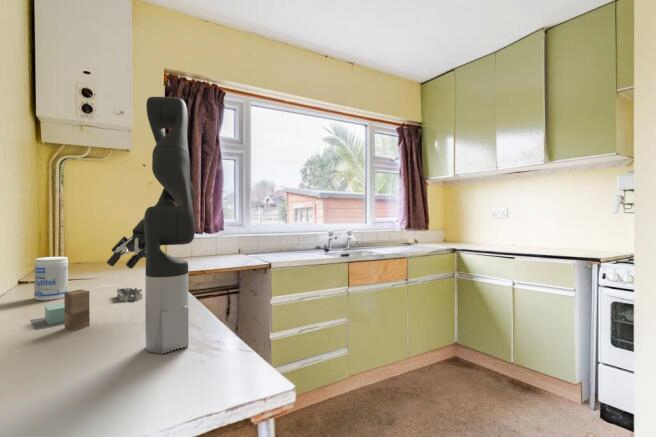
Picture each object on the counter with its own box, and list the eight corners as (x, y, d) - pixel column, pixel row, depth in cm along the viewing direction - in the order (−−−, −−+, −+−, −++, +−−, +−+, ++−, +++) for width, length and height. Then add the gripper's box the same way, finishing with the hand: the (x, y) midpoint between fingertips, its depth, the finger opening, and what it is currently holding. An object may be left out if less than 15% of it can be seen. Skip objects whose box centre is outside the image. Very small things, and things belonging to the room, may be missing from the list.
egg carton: (142, 300, 122) (142, 289, 122) (118, 304, 118) (118, 292, 118) (139, 294, 131) (139, 284, 131) (116, 297, 127) (116, 286, 126)
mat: (90, 320, 99) (90, 319, 99) (36, 331, 90) (36, 329, 90) (80, 312, 107) (80, 311, 107) (30, 321, 98) (30, 319, 98)
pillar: (89, 327, 94) (89, 290, 93) (73, 331, 90) (73, 294, 90) (80, 325, 95) (80, 289, 95) (64, 329, 91) (64, 292, 91)
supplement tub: (30, 302, 118) (30, 260, 118) (38, 296, 126) (38, 257, 126) (65, 299, 123) (65, 258, 122) (70, 293, 131) (70, 255, 131)
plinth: (75, 319, 99) (75, 306, 99) (48, 324, 94) (48, 310, 94) (70, 315, 103) (70, 302, 103) (45, 319, 98) (45, 306, 98)
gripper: (129, 218, 114) (94, 256, 103) (160, 219, 108) (126, 260, 98) (143, 233, 119) (111, 271, 108) (173, 234, 113) (143, 275, 103)
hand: (118, 265), depth 103 cm, fingers open, 8 cm apart
